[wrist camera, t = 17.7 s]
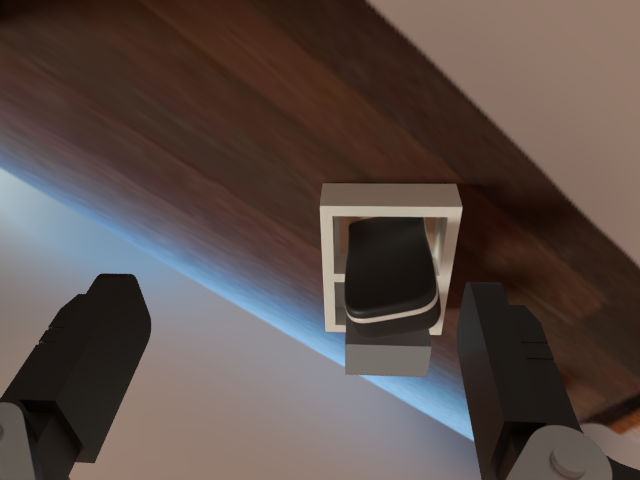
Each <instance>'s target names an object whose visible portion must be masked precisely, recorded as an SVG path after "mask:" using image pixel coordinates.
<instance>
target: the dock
mask: <svg viewBox="0 0 640 480" xmlns="http://www.w3.org/2000/svg"><path fill="white" fill-rule="evenodd" d="M462 208H463V207H462V203H461V200H460V196H459V192H458V189H457V185H456V184H350V183H323V185H322V193H321V201H320V220H321V241H322V263H323V285H324V307H325V329H326V332H346V338H345V369H346V374H350V375H378V376H407V377H427V373H428V366H429V360H430V353H431V339H430V335H441V331H442V326H443V320H444V314H445V308H446V302H447V296H448V290H449V284H450V278H451V273H452V267H453V261H454V255H455V249H456V243H457V237H458V231H459V225H460V219H461V214H462ZM376 217H425V223H426V230H427V236H428V240H429V244H430V248H431V252H432V256H433V260H434V264H435V270H436V276H437V282H438V287H439V295H440V303H441V315H440V318H439V320H438V322H437V323H436V324H435V325H434V326H433V327H431V328H430V329H427V330H423V331H418V332H413V333H408V334H402V335H397V336H390V337H383V338H375V339H369V338H365V337H363V336H361V335H360V334H358V332H357V330H356V329H355V327H354V326H353V323H352V321H351V319H350V318H349V317H348V315H347V312H346V309H345V301H344V281H345V268H346V259H347V252H348V237H349V231H348V227H349V225H350V224H352V223H355V222H359V221H363V220H367V219H372V218H376Z"/></svg>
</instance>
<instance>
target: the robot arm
mask: <svg viewBox="0 0 640 480" xmlns="http://www.w3.org/2000/svg"><path fill="white" fill-rule="evenodd" d="M150 333H151V318H150V315H149V312H148V309H147V306H146V304H145V301H144V298H143V295H142V293H141V290H140V287H139V284H138V281H137V279H136V277H135V276H134V275H132V274H100V275H98V276H97V278H96V279H95V280H94V282H93V284H92V285H91V287H90V288H89V290H88V291H87V293H86V294H78V295H77V296H76V297H74V298H73V299H72V300H71V301H70V302H68V303H67V304H66V305H65V306H64V307H62V308H61V309H60V310H59V312H58V313H57V315H56V316H55V318H54V319H53V321H52V322H51V324H50V325H49V329H48V330H46V331H45V333H44V334H43V336H42V337H41V339H40V340H39V345H36V346H35V348H34V349H33V351H32V352H31V354H30V355H29V357H28V358H27V360H26V361H25V363H24V364H23V366H22V367H21V369H20V370H19V372H18V373H17V375H16V376H15V378H14V379H13V381H12V382H11V384H10V385H9V387H8V388H7V390H6V391H5V393H4V394H3V396H2V397H1V398H0V480H70V478H69V474H70V472H71V470H72V468H73V465H74V463H75V462H83V463H95V461H96V458H97V456H98V454H99V452H100V449H101V447H102V445H103V443H104V440H105V438H106V436H107V433H108V431H109V429H110V427H111V424H112V422H113V420H114V418H115V415H116V413H117V411H118V409H119V406H120V404H121V402H122V400H123V397H124V395H125V393H126V391H127V388H128V386H129V384H130V382H131V379H132V377H133V375H134V373H135V370H136V368H137V366H138V364H139V361H140V359H141V357H142V355H143V352H144V350H145V348H146V345H147V343H148V341H149V337H150ZM457 351H458V357H459V362H460V367H461V373H462V378H463V383H464V388H465V394H466V399H467V404H468V410H469V415H470V420H471V426H472V431H473V436H474V441H475V446H476V452H477V457H478V462H479V468H480V473H481V479H482V480H640V471H639V470H637V469H634V468H631V467H628V466H625V465H623V464H620V463H618V462H616V461H614V460H612V459H611V458H609V457H608V456H606V455H605V454H604V452H603V451H602V450H601V448H600V447H599V446H598V445H597V444H596V443H595V442H594V441H593V440H591V439H590V438H589V437H587V436H586V435H584V433H583V432H582V430H581V428H580V426H579V424H578V421H577V419H576V416H575V413H574V411H573V408H572V405H571V403H570V400H569V397H568V395H567V392H566V389H565V387H564V384H563V381H562V379H561V376H560V373H559V371H558V368H557V365H556V363H554V358H553V355H552V352H551V350H550V347H549V346H548V342H547V339H546V336H545V334H544V331H543V328H542V326H541V323H540V322H539V321H538V320H537V319H536V317H535V316H534V315H533V314H532V313H531V312H530V311H529V310H528V309H527V308H526V307H525V305H509V304H508V301H507V298H506V295H505V291H504V288H503V286H502V284H501V283H500V282H467V283H466V285H465V289H464V294H463V299H462V304H461V309H460V314H459V319H458V324H457Z"/></svg>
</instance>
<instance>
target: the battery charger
mask: <svg viewBox="0 0 640 480" xmlns="http://www.w3.org/2000/svg"><path fill="white" fill-rule="evenodd" d="M348 231H349V237H348V252H347V259H346V268H345V281H344V301H345V309H346V312H347V315H348V317H349V318H350V319H351V321H352V323H353V326H354V327H355V329H356V330H357V332H358V334H360V335H361V336H363V337H365V338H369V339H375V338H383V337H390V336H397V335H402V334H408V333H413V332H418V331H423V330H427V329H430V328H431V327H433V326H434V325H435V324H436V323H437V322H438V320H439V318H440V315H441V303H440V295H439V287H438V282H437V276H436V270H435V264H434V260H433V256H432V252H431V248H430V244H429V240H428V236H427V230H426V223H425V217H376V218H372V219H367V220H363V221H359V222H355V223H352V224H350V225H349V227H348Z"/></svg>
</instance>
